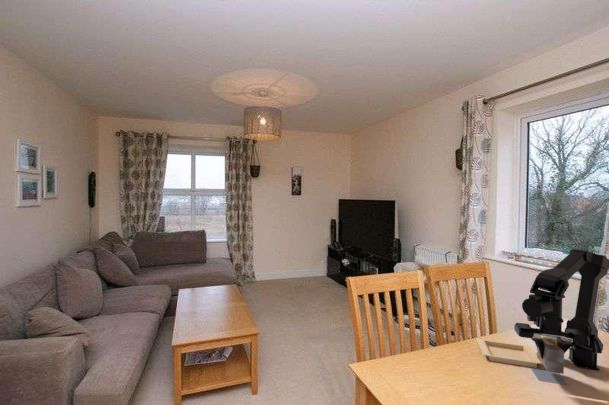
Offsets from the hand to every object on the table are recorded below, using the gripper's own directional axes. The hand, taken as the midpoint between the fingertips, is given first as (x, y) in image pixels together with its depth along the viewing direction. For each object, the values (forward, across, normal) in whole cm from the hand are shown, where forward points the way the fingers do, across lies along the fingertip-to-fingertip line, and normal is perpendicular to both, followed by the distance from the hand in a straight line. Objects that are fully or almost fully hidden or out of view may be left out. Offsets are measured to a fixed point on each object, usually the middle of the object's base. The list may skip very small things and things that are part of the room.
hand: (549, 359), depth 102 cm
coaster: (+6, 0, 0) cm, 6 cm away
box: (+2, 0, 0) cm, 2 cm away
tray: (+6, +9, -11) cm, 15 cm away
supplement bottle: (+6, -5, -14) cm, 16 cm away
